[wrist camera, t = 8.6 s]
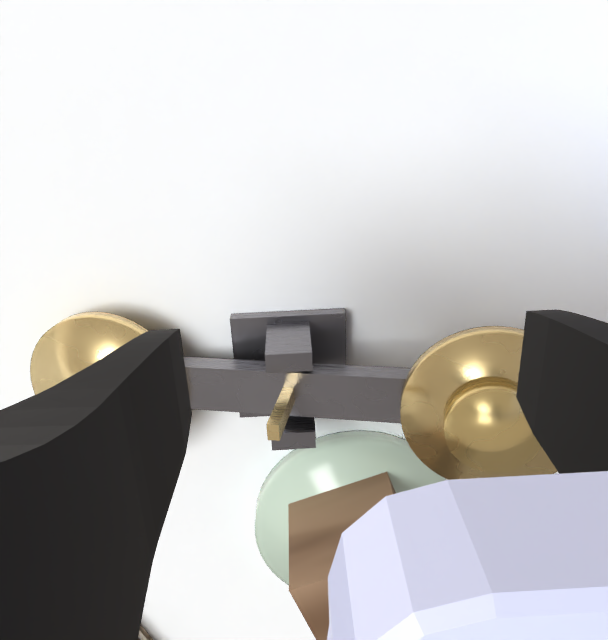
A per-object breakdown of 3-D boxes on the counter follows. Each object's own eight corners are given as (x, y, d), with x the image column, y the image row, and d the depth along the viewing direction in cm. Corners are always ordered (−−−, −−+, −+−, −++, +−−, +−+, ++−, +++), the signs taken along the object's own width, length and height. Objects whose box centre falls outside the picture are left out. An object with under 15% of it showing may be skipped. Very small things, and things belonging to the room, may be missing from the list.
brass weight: (544, 378, 18) (551, 394, 17) (533, 457, 19) (538, 476, 18) (446, 373, 18) (447, 389, 17) (441, 450, 20) (441, 468, 19)
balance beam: (593, 319, 18) (626, 366, 15) (567, 471, 20) (591, 536, 18) (37, 301, 22) (-22, 336, 19) (68, 431, 24) (21, 479, 21)
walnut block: (417, 545, 26) (442, 635, 21) (324, 574, 26) (331, 668, 22) (386, 471, 24) (408, 553, 20) (288, 503, 24) (288, 590, 20)
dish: (457, 425, 24) (464, 438, 23) (445, 579, 28) (451, 596, 27) (248, 436, 24) (246, 450, 23) (263, 589, 28) (262, 607, 27)
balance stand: (344, 308, 22) (353, 343, 19) (345, 405, 24) (353, 451, 21) (231, 314, 22) (222, 350, 19) (241, 410, 24) (234, 458, 21)
